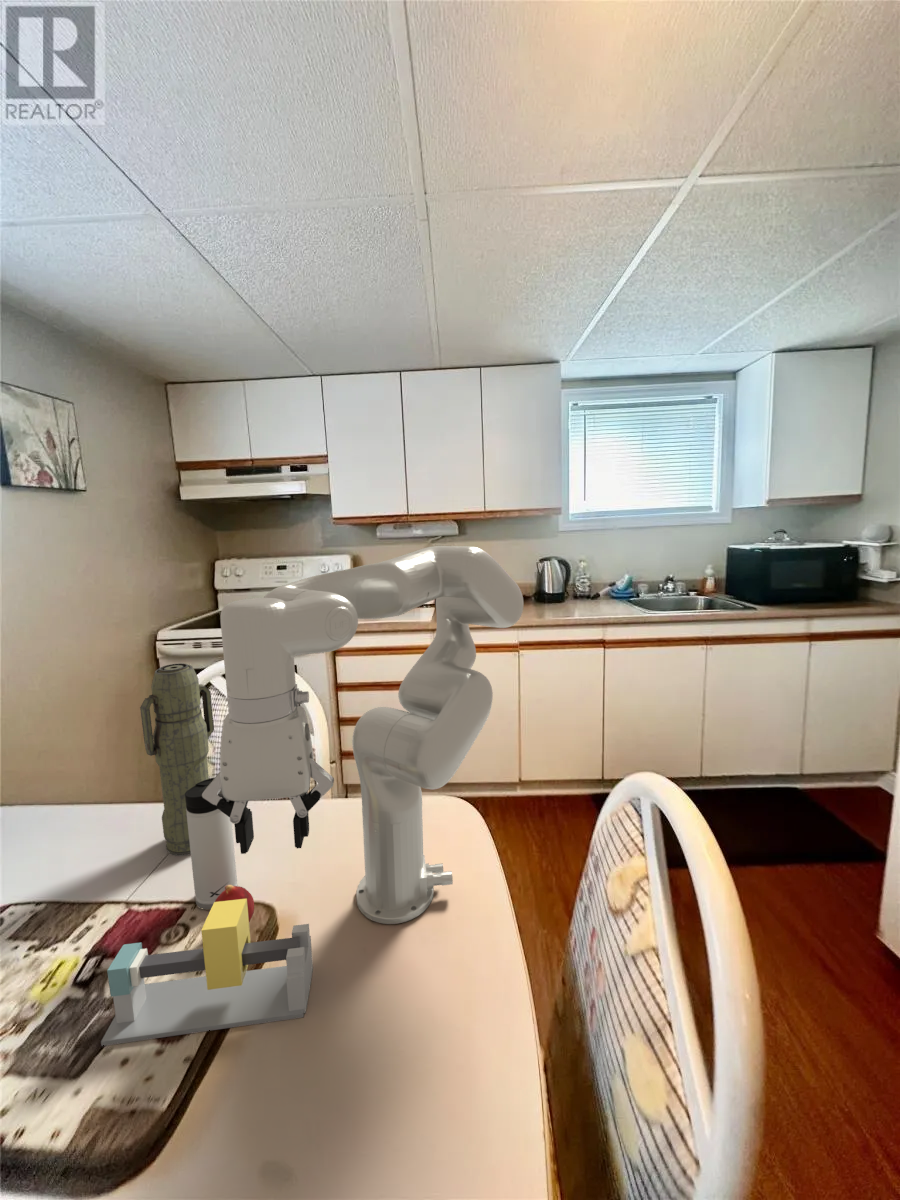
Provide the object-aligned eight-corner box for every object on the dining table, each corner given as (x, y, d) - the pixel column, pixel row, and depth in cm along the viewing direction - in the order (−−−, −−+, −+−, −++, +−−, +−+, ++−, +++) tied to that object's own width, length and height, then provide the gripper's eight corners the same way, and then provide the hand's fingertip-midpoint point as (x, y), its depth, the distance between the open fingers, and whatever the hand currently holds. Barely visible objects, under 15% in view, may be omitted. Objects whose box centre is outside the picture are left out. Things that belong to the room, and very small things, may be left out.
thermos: (233, 830, 96) (218, 661, 91) (176, 866, 86) (155, 679, 81) (206, 817, 101) (190, 656, 95) (148, 851, 90) (126, 672, 85)
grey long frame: (313, 966, 66) (309, 912, 65) (305, 1016, 59) (300, 958, 58) (132, 989, 63) (125, 933, 62) (101, 1045, 56) (92, 984, 55)
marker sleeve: (251, 954, 63) (246, 898, 62) (241, 985, 59) (236, 926, 58) (219, 958, 63) (214, 902, 61) (207, 989, 58) (201, 930, 57)
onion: (244, 911, 76) (240, 865, 75) (263, 929, 72) (259, 882, 71) (206, 935, 71) (201, 887, 70) (225, 956, 68) (220, 906, 67)
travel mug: (223, 914, 75) (212, 796, 72) (187, 908, 77) (174, 792, 74) (247, 885, 81) (238, 775, 78) (213, 880, 83) (202, 771, 80)
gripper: (340, 688, 61) (347, 819, 64) (198, 697, 59) (211, 831, 62) (334, 710, 54) (342, 857, 56) (171, 721, 52) (187, 872, 54)
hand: (274, 842), depth 59 cm, fingers open, 5 cm apart
